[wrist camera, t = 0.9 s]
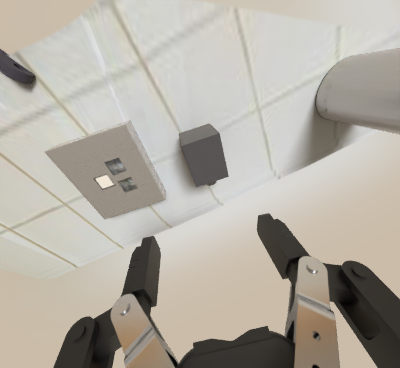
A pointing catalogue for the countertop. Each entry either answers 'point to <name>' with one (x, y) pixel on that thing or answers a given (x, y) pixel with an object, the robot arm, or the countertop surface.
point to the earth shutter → (104, 181)
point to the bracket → (14, 69)
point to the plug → (204, 154)
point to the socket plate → (110, 169)
